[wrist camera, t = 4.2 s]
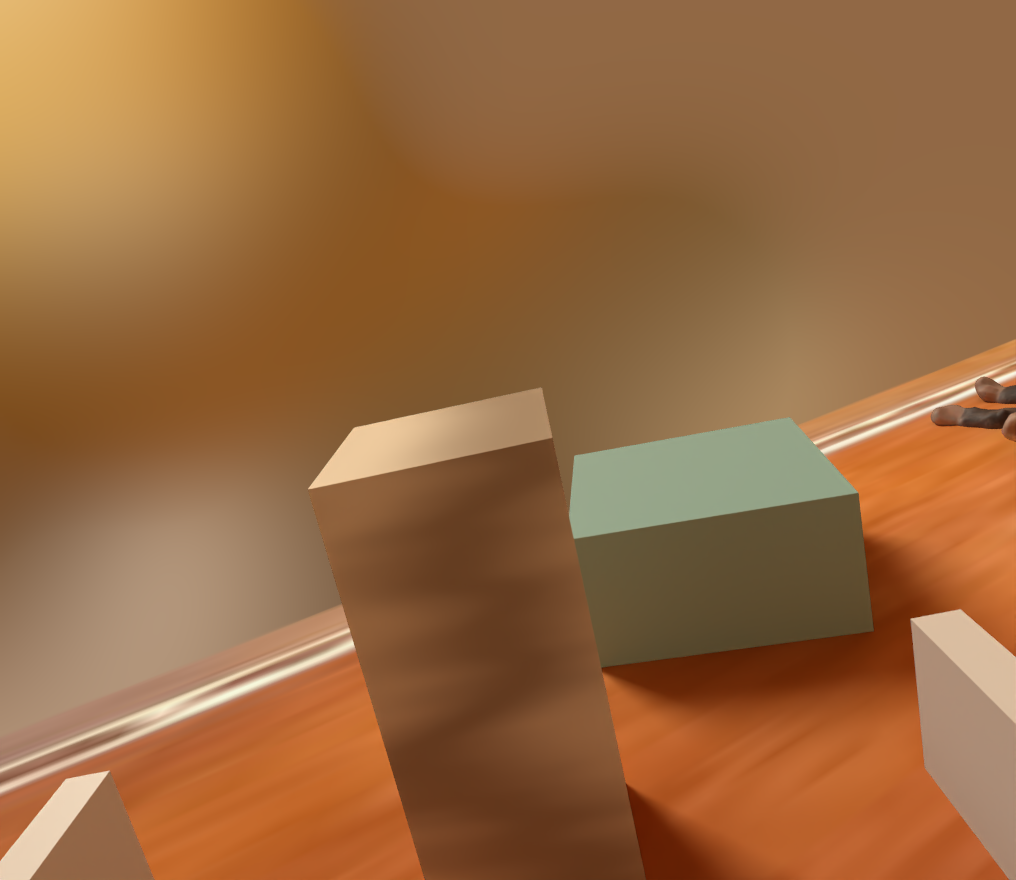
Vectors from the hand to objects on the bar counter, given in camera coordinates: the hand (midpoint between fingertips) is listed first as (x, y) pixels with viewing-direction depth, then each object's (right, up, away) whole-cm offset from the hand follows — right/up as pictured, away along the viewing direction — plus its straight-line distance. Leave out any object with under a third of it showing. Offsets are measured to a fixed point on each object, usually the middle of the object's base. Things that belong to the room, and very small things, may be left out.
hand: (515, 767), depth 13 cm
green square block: (+8, -1, +18) cm, 19 cm away
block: (+1, -5, +6) cm, 8 cm away
